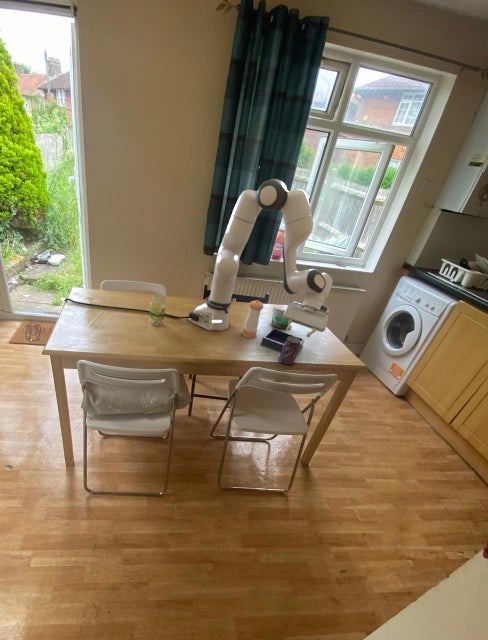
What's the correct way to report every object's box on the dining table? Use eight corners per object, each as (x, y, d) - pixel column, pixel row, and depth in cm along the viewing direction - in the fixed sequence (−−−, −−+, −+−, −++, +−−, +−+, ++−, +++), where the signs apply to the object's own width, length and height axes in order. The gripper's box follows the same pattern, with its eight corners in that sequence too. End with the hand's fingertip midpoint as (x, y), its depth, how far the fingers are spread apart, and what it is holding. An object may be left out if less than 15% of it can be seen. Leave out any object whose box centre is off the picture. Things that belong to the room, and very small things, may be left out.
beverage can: (275, 358, 160) (283, 336, 152) (287, 356, 162) (295, 334, 155) (284, 366, 155) (292, 344, 147) (296, 364, 158) (305, 342, 150)
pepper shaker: (246, 330, 180) (255, 296, 168) (257, 335, 177) (267, 301, 165) (239, 334, 175) (247, 299, 163) (250, 339, 172) (260, 304, 160)
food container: (265, 326, 187) (270, 309, 181) (268, 322, 192) (273, 306, 185) (286, 333, 183) (292, 316, 177) (289, 329, 188) (295, 312, 182)
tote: (260, 344, 169) (263, 337, 166) (270, 334, 179) (273, 327, 176) (293, 357, 163) (296, 349, 160) (302, 346, 173) (304, 339, 170)
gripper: (290, 297, 156) (277, 322, 155) (333, 310, 149) (319, 337, 148) (290, 303, 162) (277, 328, 161) (331, 317, 155) (318, 343, 154)
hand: (298, 332), depth 155 cm, fingers open, 8 cm apart
